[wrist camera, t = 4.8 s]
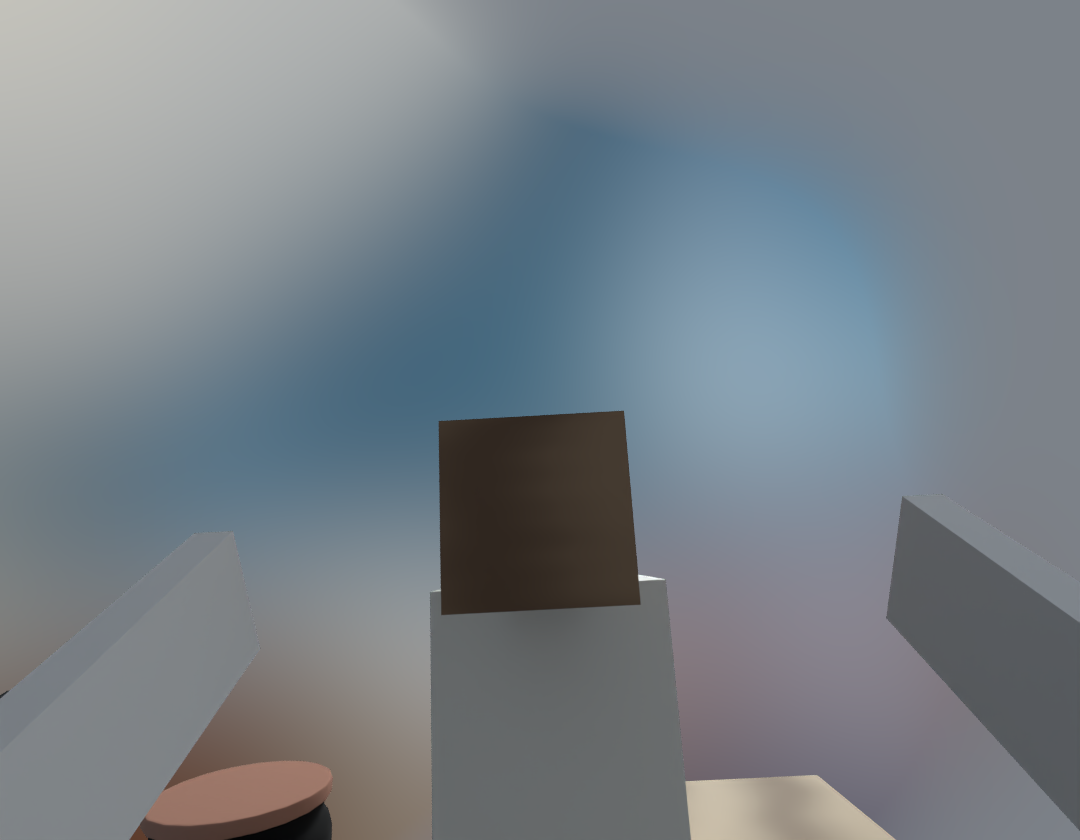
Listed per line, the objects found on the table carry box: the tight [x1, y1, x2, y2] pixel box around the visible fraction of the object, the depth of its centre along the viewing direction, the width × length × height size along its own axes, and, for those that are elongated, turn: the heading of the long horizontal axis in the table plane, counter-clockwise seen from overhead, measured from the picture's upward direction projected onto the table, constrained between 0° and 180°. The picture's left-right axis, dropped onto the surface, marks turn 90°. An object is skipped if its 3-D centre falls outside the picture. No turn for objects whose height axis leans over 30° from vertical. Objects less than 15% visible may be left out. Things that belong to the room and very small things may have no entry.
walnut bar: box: [439, 411, 641, 615], centre depth 23 cm, size 4×26×4 cm, turn 179°
